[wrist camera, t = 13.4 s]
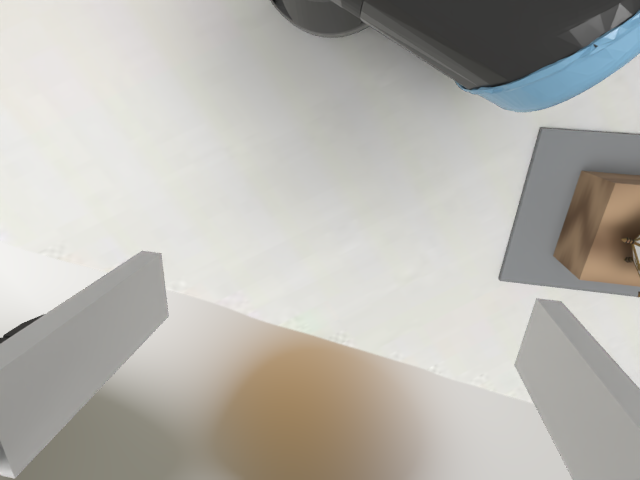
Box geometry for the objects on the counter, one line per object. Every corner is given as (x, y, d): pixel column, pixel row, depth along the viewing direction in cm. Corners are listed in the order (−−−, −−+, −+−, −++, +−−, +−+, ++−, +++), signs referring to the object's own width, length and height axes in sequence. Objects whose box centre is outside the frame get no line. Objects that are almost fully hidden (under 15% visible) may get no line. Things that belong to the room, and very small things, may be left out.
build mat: (540, 127, 38) (542, 128, 38) (730, 140, 36) (736, 141, 36) (498, 278, 45) (500, 280, 44) (656, 296, 43) (660, 299, 42)
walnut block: (581, 170, 38) (615, 183, 33) (684, 179, 37) (738, 193, 32) (553, 255, 42) (579, 279, 37) (646, 265, 41) (687, 292, 36)
